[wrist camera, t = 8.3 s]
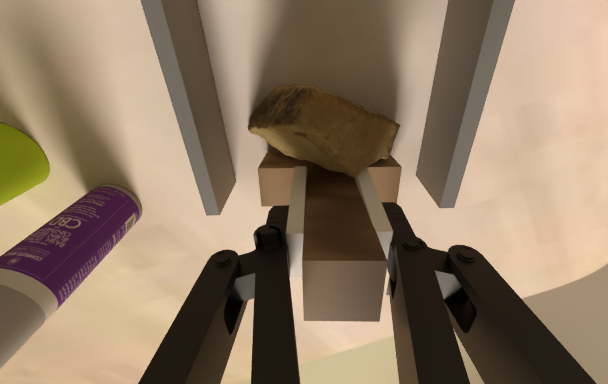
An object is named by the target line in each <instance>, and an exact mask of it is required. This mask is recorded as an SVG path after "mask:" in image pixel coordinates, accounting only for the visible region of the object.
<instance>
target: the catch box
mask: <svg viewBox="0 0 608 384" xmlns="http://www.w3.org/2000/svg"><path fill="white" fill-rule="evenodd" d="M514 2H515V0H449V2H448V7H447V13H446V18H445V23H444V29H443V34H442V39H441V45H440V50H439V55H438V61H437V66H436V71H435V76H434V82H433V87H432V92H431V98H430V103H429V108H428V114H427V119H426V124H425V130H424V135H423V140H422V146H421V151H420V156H419V162H418V167H417V172H416V176H417V178H418V179H419V180H420V182H421V183H422V185H423V186H424V187H425V189H426V190H427V191H428V193H429V194H430V196H431V197H432V198H433V200H434V201H435V202H436V204H437V205H438V207H439V208H454V206H455V203H456V199H457V196H458V192H459V189H460V186H461V182H462V179H463V175H464V172H465V169H466V165H467V162H468V158H469V155H470V152H471V148H472V145H473V141H474V138H475V135H476V131H477V128H478V124H479V121H480V118H481V114H482V111H483V107H484V104H485V101H486V97H487V94H488V90H489V87H490V84H491V80H492V77H493V73H494V70H495V67H496V63H497V60H498V56H499V53H500V50H501V46H502V43H503V39H504V36H505V33H506V29H507V26H508V22H509V19H510V16H511V12H512V9H513V5H514ZM141 3H142V7H143V10H144V13H145V16H146V20H147V23H148V26H149V30H150V33H151V36H152V39H153V43H154V46H155V49H156V52H157V56H158V59H159V62H160V65H161V69H162V72H163V75H164V79H165V82H166V85H167V88H168V92H169V95H170V98H171V101H172V105H173V108H174V111H175V114H176V118H177V121H178V124H179V128H180V131H181V134H182V137H183V141H184V144H185V147H186V150H187V154H188V157H189V160H190V163H191V167H192V170H193V173H194V177H195V180H196V183H197V186H198V190H199V193H200V196H201V199H202V203H203V206H204V209H205V212H206V215H220V213H221V211H222V209H223V207H224V205H225V203H226V201H227V199H228V197H229V195H230V193H231V191H232V189H233V187H234V185H235V183H236V180H235V176H234V171H233V166H232V162H231V157H230V152H229V148H228V143H227V139H226V134H225V129H224V125H223V120H222V115H221V111H220V106H219V102H218V97H217V92H216V88H215V83H214V78H213V74H212V69H211V65H210V60H209V55H208V51H207V46H206V41H205V37H204V32H203V28H202V23H201V18H200V14H199V9H198V5H197V0H141Z"/></svg>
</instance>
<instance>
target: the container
mask: <svg viewBox="0 0 608 384" xmlns="http://www.w3.org/2000/svg"><path fill="white" fill-rule="evenodd" d="M141 215H142V207H141V204H140V202H139V200H138V199H137V198H136V197H135V196H134V195H133V194H132V193H131V192H130V191H128V190H127V189H125V188H123V187H120V186H117V185H114V184H102V185H99V186H97V187H96V188H94V189H93V190H91V191H90V192H89V193H87V194H86V195H85V196H83V197H82V198H80V199H79V200H78V201H76V202H75V203H73V204H72V205H71V206H69V207H68V208H67V209H65V210H64V211H62V212H61V213H60V214H58V215H57V216H56V217H54V218H53V219H51V220H50V221H49V222H47V223H46V224H45V225H43V226H42V227H40V228H39V229H38V230H36V231H35V232H34V233H32V234H31V235H29V236H28V237H27V238H25V239H24V240H22V241H21V242H20V243H18V244H17V245H16V246H14V247H13V248H11V249H10V250H9V251H7V252H6V253H5V254H3V255H2V256H0V369H1V368H2V367H3V366H4V365H5V364H6V362H7V361H8V360H9V359H10V358H11V357H12V356H13V355H14V354H15V353H16V352H17V351H18V350H19V349H20V348H21V347H22V346H23V345H24V344H25V343H26V341H27V340H28V339H29V338H30V337H31V336H32V335H33V334H34V333H35V332H36V331H37V330H38V329H39V328H40V327H41V326H42V325H43V324H44V323H45V322H46V320H47V319H48V318H49V317H50V316H51V315H52V314H53V313H54V312H55V311H56V310H57V309H58V308H59V307H60V306H61V305H62V304H63V303H64V301H65V300H66V299H67V298H68V297H69V296H70V295H71V294H72V293H73V291H74V290H75V289H76V288H77V287H78V286H79V285H80V284H81V283H82V282H83V280H84V279H85V278H86V277H87V276H88V275H89V274H90V273H91V272H92V271H93V269H94V268H95V267H96V266H97V265H98V264H99V263H100V262H101V261H102V260H103V258H104V257H105V256H106V255H107V254H108V253H109V252H110V251H111V250H112V249H113V247H114V246H115V245H116V244H117V243H118V242H119V241H120V240H121V239H122V238H123V236H124V235H125V234H126V233H127V232H128V231H129V230H130V229H131V228H132V227H133V225H134V224H135V223H136V222H137V221H138V220H139V219H140V217H141Z"/></svg>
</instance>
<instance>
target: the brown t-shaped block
mask: <svg viewBox="0 0 608 384" xmlns="http://www.w3.org/2000/svg"><path fill="white" fill-rule="evenodd" d="M296 166H306V173H307V186H306V202H305V219H304V236H303V253H302V275H303V306H304V321H377V322H379V321H380V313H381V306H382V298H383V291H384V283H385V276H386V268H387V258H386V256H385V253H384V251H383V248H382V246H381V243H380V241H379V238H378V236H377V233H376V230H375V228H374V227H373V225H372V222H371V220H370V217H369V214H368V212H367V209H366V207H365V204H364V202H363V199H362V197H361V194H360V191H359V189H358V186H357V184H356V181H355V179H354V177H352V176H348V175H347V174H345V173H343V172H335V171H331V170H327V169H325V168H323V167H322V166H320V165H318V164H316V163H313V162H310V161H308V160H298V159H296V158H294V157H291V156H286V155H284V154H283V153H267V154H266V155H265V157H264V159H263V161H262V162H261V164H260V166H259V168H258V174H259V184H260V194H261V204H262V206H280V205H289V204H290V197H291V189H292V181H293V173H294V167H296ZM367 168H368V171H369V173H370V176H371V178H372V181H373V183H374V186H375V188H376V190H377V193H378V195H379V198H380V200H381V202H395V203H396V204H397V197H398V190H399V182H400V175H401V168H402V167H401V166H400V165H399V164H398V163H397V161H396V160H395V159H394V158H393V157H392V156H391V155H390V156H389V157H388V159H379V160H378V161H375V163H373V164H370V165H368V166H367Z"/></svg>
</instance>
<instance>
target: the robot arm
mask: <svg viewBox="0 0 608 384" xmlns="http://www.w3.org/2000/svg"><path fill="white" fill-rule="evenodd" d="M354 179H355V181H356V184H357V186H358V189H359V191H360V194H361V197H362V199H363V202H364V204H365V207H366V209H367V212H368V214H369V217H370V220H371V222H372V225H373V227H374V228H375V230H376V233H377V236H378V238H379V241H380V243H381V246H382V248H383V251H384V253H385V256H386V258H387V268H386V272H387V269H388V272H389V275H390V277H389V282H388V288H387V294H386V295H390V303H391V312H392V321H393V330H394V339H395V348H396V357H397V366H398V374H399V384H470V382H469V379H468V375H467V372H466V369H465V366H464V362H463V359H462V356H461V353H460V350H459V346H458V343H457V340H456V337H455V334H454V330H455V332H456V334H457V336H458V338H459V339H460V341H461V343H462V345H463V346H464V348H465V350H466V352H467V353H468V355H469V357H470V359H471V360H472V362H473V364H474V365H475V367H476V369H477V371H478V373H479V374H480V376H481V378H482V380H483V381H484V383H485V384H596V383H595V381H594V380H593V379H592V378H591V377H590V376H589V375H588V374H587V372H586V371H585V370H584V369H583V368H582V367H581V366H580V365H579V363H577V361H576V360H575V359H574V358H573V357H572V356H571V355H570V353H569V352H568V351H567V350H566V349H565V348H564V347H563V345H561V343H560V342H559V341H558V340H557V339H556V338H555V336H554V335H553V334H552V333H551V332H550V331H549V330H548V329H547V327H546V326H545V325H544V324H543V323H542V322H541V321H540V320H539V318H538V317H537V316H536V315H535V314H534V313H533V312H532V311H531V310H530V308H529V307H528V306H527V305H526V304H525V303H524V302H523V300H522V299H521V298H520V297H519V296H518V295H517V294H516V293H515V291H514V290H513V289H512V288H511V287H510V286H509V285H508V283H507V282H506V281H505V280H504V279H503V278H502V277H501V276H500V274H499V273H498V272H497V271H496V270H495V269H494V268H493V267H492V265H491V264H490V263H489V262H488V261H487V260H486V259H485V258H484V256H483V255H482V254H481V253H479V252H478V251H477V250H475V249H473V248H471V247H468V246H465V245H454V246H452V247H450V248H449V250H448V252H445V251H440V250H436V249H432V248H429V247H427V245H426V243H425V242H424V241H423V240H421V239H420V238H418V237H416V236H415V234H414V232H413V230H412V228H411V226H410V224H409V222H408V220H407V218H406V216H405V215H404V212H403V210H402V208H401V207H400V206H399V205H398V204H396V203H395V202H381V200H380V198H379V195H378V193H377V190H376V188H375V186H374V183H373V181H372V178H371V176H370V173H369V171H368V168H367V167H365V168H364V169H363V170H362V171H361V172H360V174H359V175H358V176H357V177H354ZM306 186H307V173H306V166H296V167H294V173H293V181H292V189H291V197H290V204H289V205H280V206H273V207H272V208H271V210H270V211H269V213H268V218H267V222H266V225H263V226H261V227H259V228H258V229H257V230H256V231H255V232H254V241H255V246H256V249H255V250H254V251H252V252H249V253H246V254H243V255H239V256H238V254H237V253H236V252H235V251H233V250H222V251H219V252H217V253H215V254H214V255H212V256H211V257H210V259H209V260H208V261H207V263H206V265H205V267H204V269H203V270H202V272H201V274H200V276H199V277H198V279H197V281H196V283H195V284H194V286H193V288H192V290H191V291H190V293H189V295H188V297H187V299H186V300H185V302H184V304H183V306H182V307H181V309H180V311H179V313H178V314H177V316H176V318H175V320H174V321H173V323H172V325H171V327H170V329H169V330H168V332H167V334H166V336H165V337H164V339H163V341H162V343H161V344H160V346H159V348H158V350H157V351H156V353H155V355H154V357H153V359H152V360H151V362H150V364H149V366H148V367H147V369H146V371H145V373H144V374H143V376H142V378H141V380H140V381H139V383H138V384H220V383H221V380H222V377H223V374H224V371H225V368H226V365H227V362H228V359H229V356H230V353H231V350H232V347H233V344H234V341H235V338H236V335H237V332H238V329H239V326H240V323H241V320H242V317H243V314H244V311H245V308H246V305H247V302H248V300H249V299H253V298H254V320H253V346H252V373H251V384H300V377H299V368H298V357H297V347H296V337H295V328H294V318H293V308H292V298H291V289H290V279H289V278H290V277H303V275H302V253H303V236H304V219H305V202H306ZM453 329H454V330H453Z"/></svg>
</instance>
